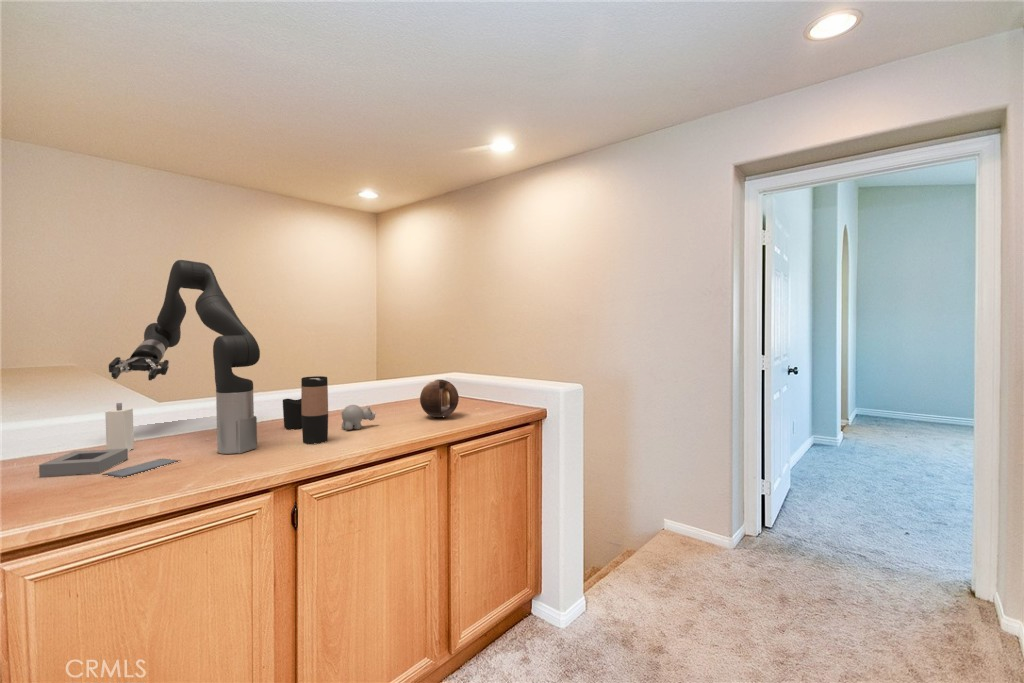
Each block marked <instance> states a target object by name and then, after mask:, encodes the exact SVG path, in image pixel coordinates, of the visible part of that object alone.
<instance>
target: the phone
mask: <svg viewBox="0 0 1024 683" xmlns="http://www.w3.org/2000/svg"><path fill="white" fill-rule="evenodd" d="M178 461H181V462H182V460H180V459H172V460H171V458H162V459H161V458H158V459H155V460H151V461H146V462H144V463H143V462H142V463H140V464H136V465H133V466H128V467H124V468H120V469H117V470H114V471H109V472H105V473H102V474H101V476H102V475H108V476H114V477H113V478H115V477H122V478H123V477H126V478H128V477H127V476H130V477H132V476H131V475H133V476H135V475H134V474H137V475H139V474H138V473H140V474H142V473H141V472H143V473H146V472H145V471H147V472H149V471H148V470H150V471H152V470H151V469H154V470H156V469H155V468H157V467H160V466H164V465H167V464H171V463H174V462H178ZM178 463H179V462H178ZM171 465H172V464H171ZM164 467H165V466H164ZM157 469H158V468H157ZM108 476H107V477H108ZM122 478H121V479H122ZM123 479H124V478H123Z"/></svg>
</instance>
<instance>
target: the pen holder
mask: <svg viewBox="0 0 1024 683" xmlns="http://www.w3.org/2000/svg"><path fill="white" fill-rule="evenodd" d="M282 413H283V414H282V416H283V427H284V429H285V428H286V430H291V429H294V430H302V429H301V428H302V402H301V398H299V399H292V398H284V399H282Z"/></svg>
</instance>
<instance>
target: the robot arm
mask: <svg viewBox="0 0 1024 683" xmlns="http://www.w3.org/2000/svg"><path fill="white" fill-rule="evenodd" d="M181 289H188V290H198V291H199V290H200V291H202V292H201V293H200V295H199V296H198V297H197V299H196V301H195V303H194V304H195V305H194V307H195V312H196V314H197V315H198V317H199V319H200V321H201V322H202V323H203V325H205V327H207V328H208V329H209V330H211V331H213V332H215V333H217V334H219V336H217V337H216V338H215V339H214V341H213V345H212V355H213V356H212V358H213V367H214V382H215V383H214V384H215V396H216V397H215V398H216V399H215V400H216V403H215V406H216V442H217V443H216V445H217V448H216V449H217V450H216V451H217V453H218V454H224V455H229V454H230V455H231V454H243V453H245V452H249V451H252V450H255V449H258V433H257V432H258V426H257V425H258V424H257V422H258V419H257V416H256V415H254V414H255V411H254V410H255V408H254V406H255V405H254V404H255V403H254V382H253V380H251V379H249V378H244V377H240V376H238V375H236V374H235V373H234V372H233V369H232V368H246V367H251V366H254V365H256V364H258V362H259V360H260V357H261V350H260V346H259V343H258V342H257V340H256V338H255V336H254V335H253V334H252V333H251V332H250V331H249V330H248V328H247V327H246V326H245V325H244V324H243V323H242V321H241V319H240V318H239V316H238V315H237V313H236V311H235V309H234V308H233V306H232V303H230V301H229V300H228V298H227V297H226V296H225V294H224V292H223V290H222V288H221V287H220V284H219V282H218V280H217V278H216V275H215V273H214V270H213V268H212V267H211V266H210V265H209V264H207V263H204V262H201V261H200V262H199V261H192V260H186V259H185V260H184V259H178V260H176V261H174V263H173V265H172V266H171V269H170V272H169V276H168V280H167V286H166V290H165V294H164V300H163V304H162V307H161V309H160V311H159V313H158V315H157V318H156V322H152V323H150V324H148V325H147V326H146V328H145V329H144V332H143V339H144V340H143V341H142V342H141V343H140V344H139V345H138V346H137V347H136V348H135V350H134V351H133V352H132V353H131V355H130V357H129V358H127V359H121V357H120V356H117V357H114V359H113V360H111V362H110V363H108V373H110V374H111V378H112V379H114V380H117V379H118V378H119V377H120V375H121V374H124V373H127V374H128V373H131V372H134V371H135V372H137V371H140V372H147V373H148V374H147V375H148V377H147V378H148V379H147V380H148V381H152V380H155V379H156V378H157V377H158V376H159V375H162V376H165V375H167V372H168V370H169V366H170V361H169V359H164V361H161V360H162V359H163V358H164V355H165V353H166V351H167V350H168V348H174V347H176V346H177V345H178V344H179V343H180V340H181V332H182V331H181V325H182V323H183V320H184V318H185V316H186V314H187V306H186V303H185V302H184V300H183V298H182V296H181V294H180V290H181ZM121 368H122V369H121Z"/></svg>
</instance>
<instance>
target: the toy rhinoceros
mask: <svg viewBox="0 0 1024 683" xmlns="http://www.w3.org/2000/svg"><path fill="white" fill-rule="evenodd" d="M376 415H377V411H376V410H374V411H372V409H371V407H370V406H369V407H368V405H366V406H365V407H364V408H361V406H359V405H357V404H349V405H347V406H345V408H344V409H343V410H342V411H341V419H342V423H341V429H343V428H344V429H343V430H345V431H350V430H360V428H361V429H362V423H361V422H362V421H363V420H367V421H374V420H375V418H376ZM353 427H354V428H353Z"/></svg>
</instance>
